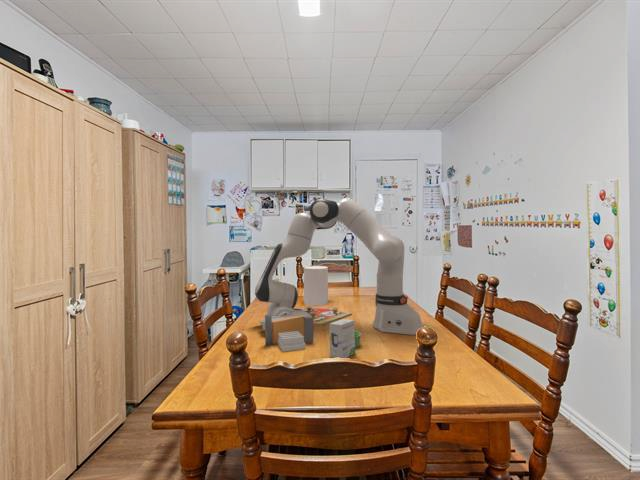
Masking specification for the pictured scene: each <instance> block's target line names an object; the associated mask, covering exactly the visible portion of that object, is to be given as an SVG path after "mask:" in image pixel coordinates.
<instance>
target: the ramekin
mask: <svg viewBox="0 0 640 480" xmlns="http://www.w3.org/2000/svg"><path fill="white" fill-rule="evenodd" d="M361 336H362V333H361V332H360V331H358V330H355V349H356V348H358V347H359V346H360V344H361V343H360V342H361Z"/></svg>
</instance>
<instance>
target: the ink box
mask: <svg viewBox="0 0 640 480" xmlns="http://www.w3.org/2000/svg"><path fill="white" fill-rule="evenodd" d="M328 325H329V330H328V331H329V358H331V357H340V358H346V359H348V358H349V357H352V356H353V355H355V354H356V348H355V331H356V330H355V328H356V327H355V320H353V319H347V318H342V319H340V320H337V321H334V322H332V323H329V324H328Z"/></svg>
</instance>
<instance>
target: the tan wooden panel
mask: <svg viewBox="0 0 640 480" xmlns="http://www.w3.org/2000/svg"><path fill="white" fill-rule="evenodd" d="M303 316H304V315H302V316H297V317H291V318H286V319H281V320H276V321H272V345H275V344H278V333H286V332H295V331H299V333H300V334H302V336H304V319H303Z"/></svg>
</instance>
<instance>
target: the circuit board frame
mask: <svg viewBox="0 0 640 480" xmlns="http://www.w3.org/2000/svg"><path fill="white" fill-rule="evenodd" d="M264 317H265V330H264V335H265V338H264V339H265V340H264V343H265V344H264V345H265V346H266V347H267V346H269V347H270V346H272V345H273V344H272V315H270V314H268V313H267V314H265V315H264ZM303 319H304V336H302V334H300V333H299V331H295V332H286V333H278V343H277V346H278V347H279V349H280V350H281V352H283V353H284V352H294V351H300V350H306V344H311V343H314V324H313V317H312V316H303Z"/></svg>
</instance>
